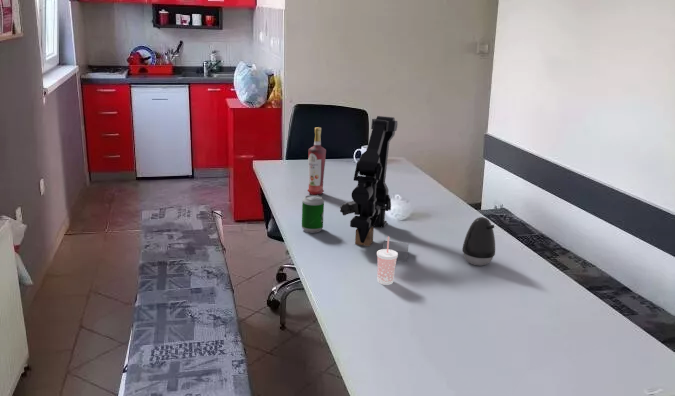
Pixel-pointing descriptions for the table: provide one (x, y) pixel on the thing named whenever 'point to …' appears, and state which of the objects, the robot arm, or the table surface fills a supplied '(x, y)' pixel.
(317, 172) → the liquor
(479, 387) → the table surface
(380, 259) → the beverage cup
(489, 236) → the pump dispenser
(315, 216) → the soda can
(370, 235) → the walnut cube
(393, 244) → the slate block
